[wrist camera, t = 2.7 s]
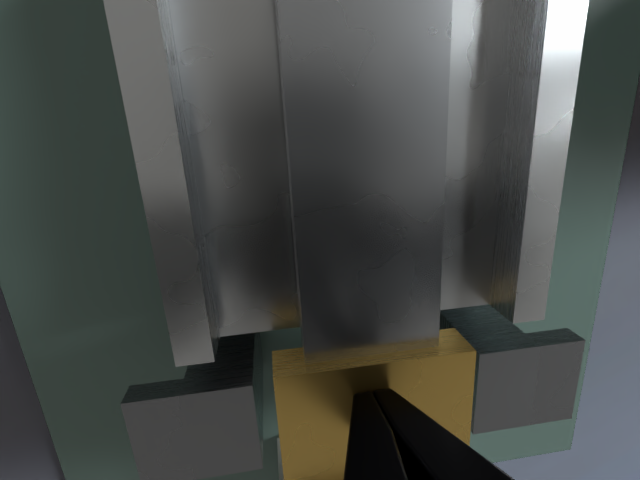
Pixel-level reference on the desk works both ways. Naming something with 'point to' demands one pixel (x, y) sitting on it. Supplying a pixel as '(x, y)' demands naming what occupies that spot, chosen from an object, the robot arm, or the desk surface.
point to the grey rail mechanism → (276, 221)
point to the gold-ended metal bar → (366, 222)
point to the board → (136, 250)
